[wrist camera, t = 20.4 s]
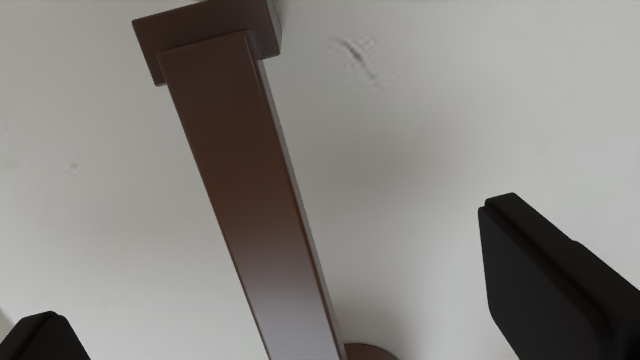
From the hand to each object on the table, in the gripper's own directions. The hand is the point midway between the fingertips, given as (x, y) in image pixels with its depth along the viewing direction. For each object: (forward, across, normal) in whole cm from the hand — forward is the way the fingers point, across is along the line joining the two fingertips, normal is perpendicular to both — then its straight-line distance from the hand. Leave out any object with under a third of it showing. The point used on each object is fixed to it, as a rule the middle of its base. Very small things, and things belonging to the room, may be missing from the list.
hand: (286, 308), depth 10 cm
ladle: (+7, 0, +4) cm, 8 cm away
